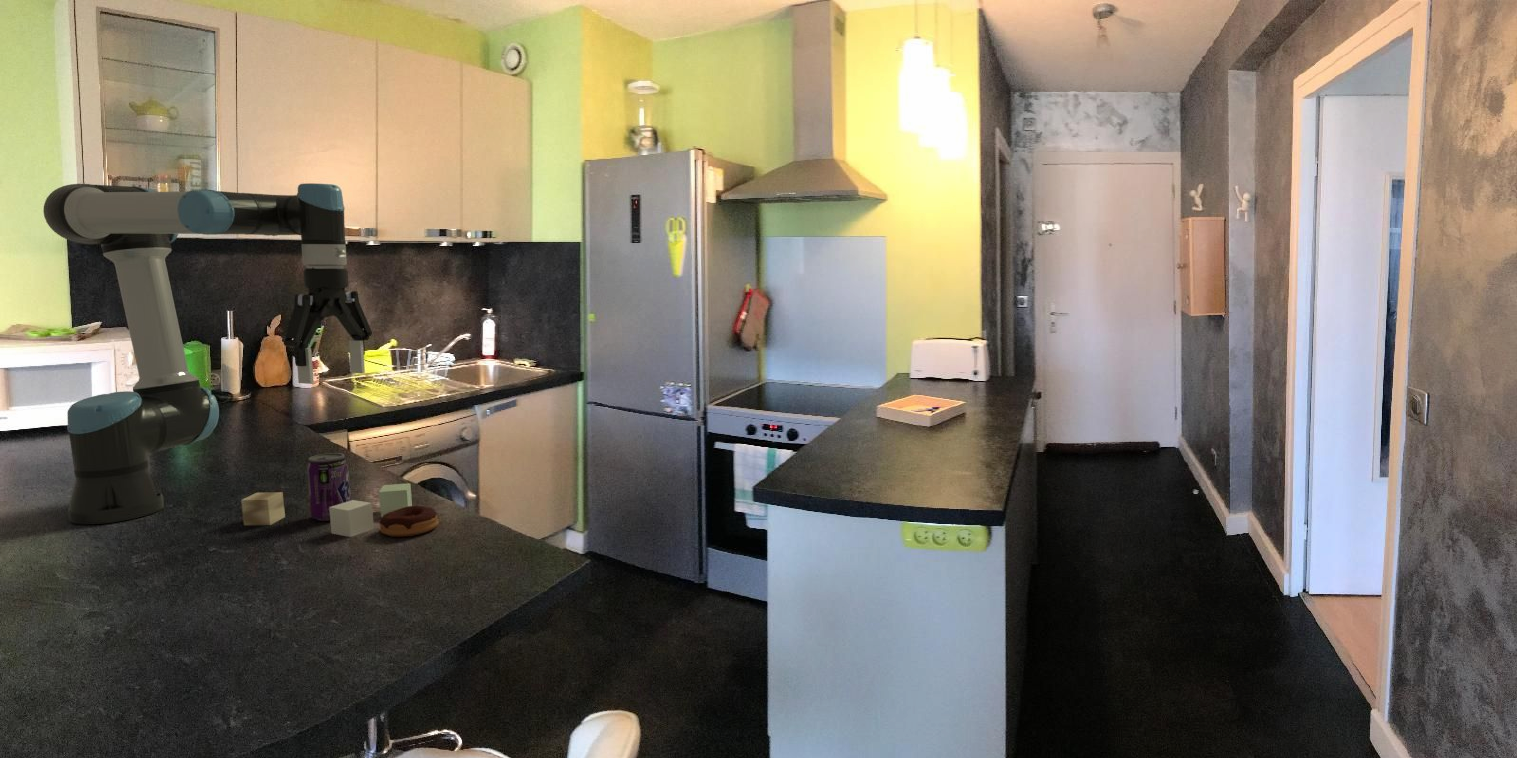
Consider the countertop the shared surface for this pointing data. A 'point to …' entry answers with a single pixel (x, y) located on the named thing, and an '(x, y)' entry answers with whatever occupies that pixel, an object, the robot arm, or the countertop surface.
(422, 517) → the donut
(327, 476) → the beverage can
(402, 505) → the sage cube
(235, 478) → the countertop surface
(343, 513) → the off-white cube
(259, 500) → the beech cube
